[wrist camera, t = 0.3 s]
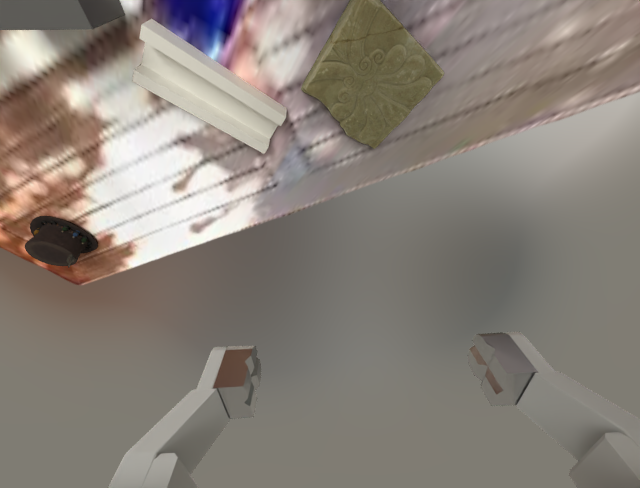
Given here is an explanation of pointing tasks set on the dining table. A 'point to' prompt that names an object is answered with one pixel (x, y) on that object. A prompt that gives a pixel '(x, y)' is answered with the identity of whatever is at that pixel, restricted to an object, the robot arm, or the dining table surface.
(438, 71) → the decorative tile
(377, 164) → the dining table surface
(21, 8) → the picture frame
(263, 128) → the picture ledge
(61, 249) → the top hat
